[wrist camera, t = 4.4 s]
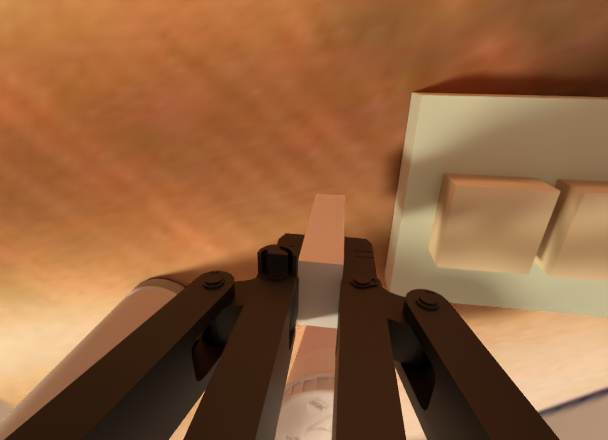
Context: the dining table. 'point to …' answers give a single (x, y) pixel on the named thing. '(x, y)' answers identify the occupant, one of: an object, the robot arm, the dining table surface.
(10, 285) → the dining table surface
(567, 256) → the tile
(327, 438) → the smoothie
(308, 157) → the dining table surface
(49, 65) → the dining table surface
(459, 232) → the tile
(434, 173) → the board
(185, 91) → the dining table surface
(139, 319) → the travel mug
